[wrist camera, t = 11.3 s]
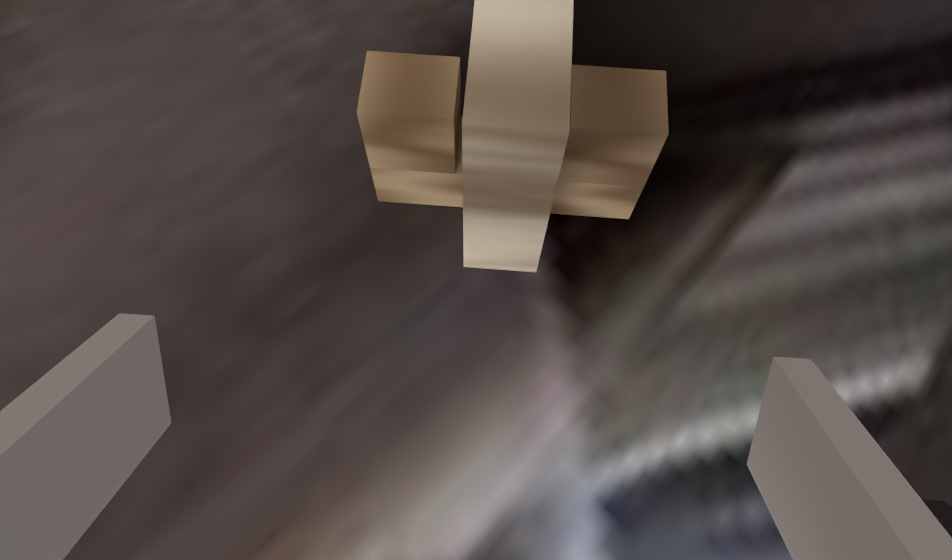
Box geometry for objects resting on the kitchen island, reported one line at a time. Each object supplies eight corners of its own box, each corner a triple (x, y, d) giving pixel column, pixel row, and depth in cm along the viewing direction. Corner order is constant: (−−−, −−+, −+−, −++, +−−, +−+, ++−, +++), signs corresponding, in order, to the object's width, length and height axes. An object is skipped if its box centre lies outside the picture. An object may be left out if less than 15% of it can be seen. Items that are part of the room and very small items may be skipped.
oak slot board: (627, 165, 34) (666, 71, 27) (628, 219, 33) (668, 134, 26) (386, 148, 34) (367, 50, 28) (378, 201, 33) (356, 112, 26)
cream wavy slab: (536, 272, 28) (569, 131, 19) (463, 266, 28) (462, 123, 19) (547, 42, 33) (578, -161, 24) (484, 38, 33) (491, -167, 24)
